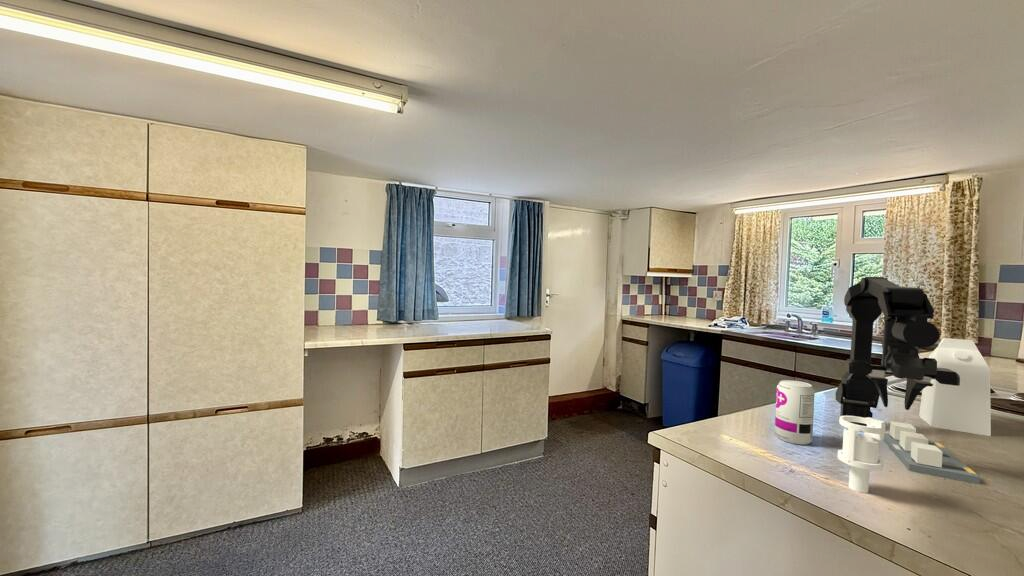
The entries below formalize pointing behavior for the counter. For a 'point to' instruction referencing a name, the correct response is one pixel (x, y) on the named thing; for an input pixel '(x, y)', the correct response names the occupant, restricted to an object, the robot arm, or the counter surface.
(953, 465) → the switch bank
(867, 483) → the white cylindrical holder
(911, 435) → the middle tab
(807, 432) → the supplement can
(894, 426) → the cream cube
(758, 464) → the counter surface
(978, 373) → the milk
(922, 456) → the near tab
